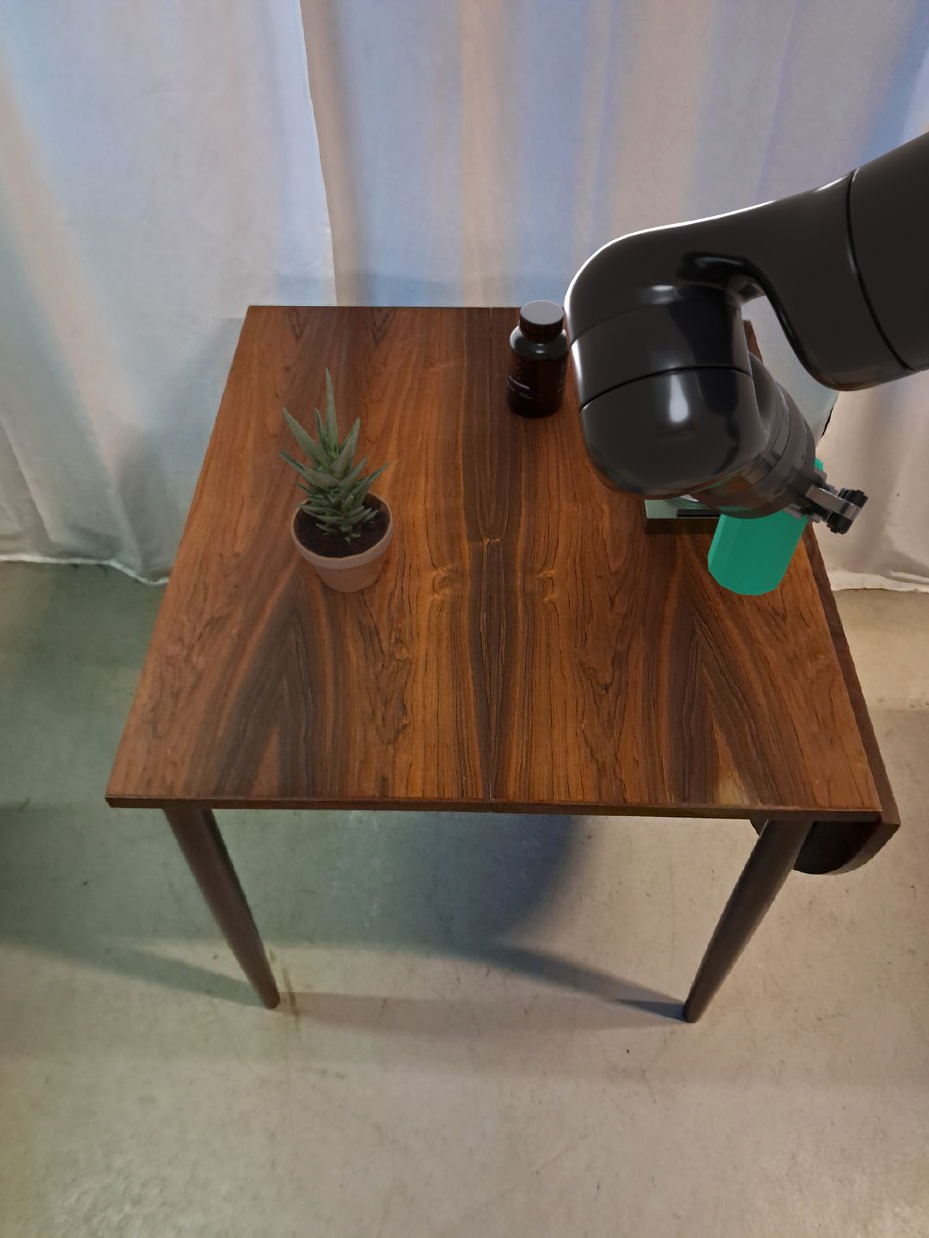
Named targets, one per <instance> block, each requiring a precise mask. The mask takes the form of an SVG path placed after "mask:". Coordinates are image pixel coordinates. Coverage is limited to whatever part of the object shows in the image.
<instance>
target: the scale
mask: <svg viewBox="0 0 929 1238" xmlns="http://www.w3.org/2000/svg"><path fill="white" fill-rule="evenodd" d="M638 503H639V510H640V517H641V523H642V529H643V534H644V535H715V532H716V529H717V526H718V523H719V519H720V516H721V513H719V512H717V511H715V510H713V509H712V508H710V507H708V506H706V505H705V504H703V503H701V502H699V501H697V500H696V499H694V498H692V497H691V496H689V495H684V496H680V497H675V498H669V499H661V500H639V499H638Z"/></svg>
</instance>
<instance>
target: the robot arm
mask: <svg viewBox="0 0 929 1238" xmlns="http://www.w3.org/2000/svg"><path fill="white" fill-rule="evenodd" d="M761 297H766V299H767V301H768V303H769V304H770V307H771V309H772V310H773V313H774V315H775V318H776V319H777V321H778V323H779V325H780V327H781V330H782V332H783V334H784V336H785V340H786V341H787V342H788V345H789V346H790V348H791V350H792V352H793V354H794V355H795V357H796V358H797V360H798V362H799V363H800V365H801V366H802V367H803V369H804V370H805V371H806V372H807V374H808V375H809V376H810V377H811V378H812V379H814V380H815V381H816V382H817V383H818V384H820V385H822V386H823V387H824V388H827V389H830V390H833V391H837V392H845V393H847V392H848V393H849V392H859V391H863V390H864V391H865V390H869V389H873V388H876V387H879V386H883V385H887V384H889V383H893V382H896V381H898V380H901V379H902V380H903V379H904V378H907V377H910V376H913V375H915V374H918V373H921V372H926V371H929V131H927V132H925V133H923V134H921V135H919V136H917V137H915V138H913V139H911V140H909V141H907V142H904V143H903V144H902V145H899V146H897V147H896V148H893V149H891V150H890V151H887V152H885V153H884V154H882V155H880V156H878V157H876V158H874V159H871V160H870V161H868V162H867V163H865V164H863V165H861V166H859V167H858V168H854V169H853V170H851V171H848V172H847V173H845V174H843V175H841V176H839V177H837V178H836V179H833V180H831V181H829V182H828V183H825V184H822V185H820V186H817V187H814V188H812V189H808V190H805V191H802V192H799V193H796V194H793V195H790V196H786V197H783V198H779V199H775V200H771V201H768V202H764V203H760V204H757V205H754V206H750V207H746V208H742V209H738V210H735V211H731V212H726V213H723V214H719V215H714V216H710V217H709V216H708V217H705V218H701V219H696V220H691V221H685V222H678V223H673V224H668V225H662V226H658V227H652V228H649V229H648V228H647V229H643V230H640V231H636V232H633V233H629V234H625V235H623V236H621V237H619V238H616V239H614V240H612V241H609V242H608V243H607V244H605V245H603V246H602V247H601V248H599V249H598V250H597V251H596V252H595V253H593V255H591V257H589V258H588V259H587V260H586V261H585V262H584V264H583V265H582V266H581V268H580V269H579V270H578V272H577V273H576V275H575V276H574V278H573V279H572V281H571V283H570V285H569V287H568V290H567V292H566V294H565V298H564V303H563V311H564V330H565V332H566V339H567V346H568V352H569V359H568V360H569V364H570V370H571V377H572V384H573V390H574V396H575V402H576V408H577V416H578V424H579V431H580V438H581V445H582V449H583V451H584V456H585V458H586V461H587V464H588V465H589V467H590V469H591V471H592V472H593V474H594V476H595V477H596V478H597V480H598V481H599V482H600V484H602V485H603V487H604V488H606V490H608V491H610V492H611V493H612V494H614V495H617V496H619V497H623V498H627V499H631V500H638V501H639V500H661V499H669V498H675V497H680V496H684V495H689V496H691V497H692V498H694V499H696V500H697V501H699V502H701V503H703V504H705V505H706V506H708V507H710V508H712V509H713V510H715V511H717V512H719V513H721V514H723V515H726V516H729V517H732V518H737V519H756V518H762V517H766V516H769V515H771V514H774V513H776V512H778V511H780V510H781V511H782V512H784V513H786V514H788V515H790V516H792V517H794V518H796V519H801V518H802V517H804V516H806V517H807V520H808V522H811V523H816V524H820V523H821V521H822V522H823V523H825V524H826V526H825V527H827V529H829V532H831V533H833V534H836V535H838V534H839V535H845V534H847V533H848V532H849V530H850V528H851V527H852V525H853V523H854V522H855V521H856V519H857V517H858V516H859V514H860V512H861V511H862V509H863V507H864V506H865V505H866V503H867V502H868V500H869V497H868V496H867V495H865V492H864V491H862V490H860V489H858V488H857V489H853V488H847V487H845V486H842V487H841V488H840V490H838V489H836V486H834V485H832V484H830V483H827V478H828V475H827V473H826V472H825V471H824V470H823V471H822V470H821V469H819V468H818V467H816V466H815V458H817V456H816V442H815V441H816V440H815V437H814V434H813V431H812V429H811V427H810V425H809V423H808V422H807V421H806V418H805V417H804V415H803V413H802V412H801V410H800V408H799V407H798V405H797V403H796V402H795V400H794V398H793V397H792V396H791V394H790V393H789V392H788V390H787V389H786V388H785V387H783V385H782V384H780V383H779V382H778V381H777V380H776V379H775V377H774V376H773V375H772V374H771V372H770V370H769V369H768V367H766V365H765V364H764V363H763V362H762V361H761V359H759V358H758V357H757V356H756V355H755V354H753V353H752V352H751V351H749V348H748V342H747V337H746V333H745V327H744V320H743V312H742V307H743V306H745V305H746V304H748V303H749V302H752V301H753V300H756V299H759V298H761Z"/></svg>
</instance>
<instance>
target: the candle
mask: <svg viewBox="0 0 929 1238" xmlns="http://www.w3.org/2000/svg"><path fill="white" fill-rule="evenodd" d="M815 466H816V467H818V468H819V469H821V470H822V471H824V463H823V462H822V461H821V460H819V458H818V457H816V458H815ZM808 522H809V520H807V517H806V516H804V517H802V518H801V519H796V518H794V517H792V516H790V515H788V514H786V513H784V512H782V511H781V510H780V511H778V512H776V513H774V514H771V515H769V516H766V517H762V518H756V519H737V518H732V517H729V516H726V515H723V514H721V516H720V519H719V523H718V526H717V529H716V532H715V534H713V539H712V542H711V545H710V549H709V551H708V554H707V564H708V565H707V566H708V572H709V573H710V574H711V575H712V577H713V579H714V580H715V581H716V582H717V584H719V586H722V587H723V588H725V589H728V590H730V591H731V592H734V593H735V594H738V595H748V596H761V595H763V594H766V593H770V592H771V591H772V592H773V591H775V590H776V589H777V587H778V586H779V584H780V583H781V582H782V580H783V579H784V577H785V575H786V573H787V570H788V567H789V565H790V563H791V561H792V559H793V556H794V553H795V552H796V549H797V547H798V545H799V542H800V540H801V537H802V535H803V533H804V531H805V528H806V527H807V523H808Z"/></svg>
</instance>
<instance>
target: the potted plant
mask: <svg viewBox="0 0 929 1238" xmlns="http://www.w3.org/2000/svg"><path fill="white" fill-rule="evenodd" d="M325 381H326V382H325V383H326V411H325V426H324V423H323V421H322V418H321V415H320V412H319V410H318V409H317V408H316V407H313V409H314V418H315V419H314V420H315V425H316V431H317V439H318V444H317V443H316V442H315V440H314V439H313V438H312V437H311V436H310V435H309V434H308V433H307V431H305V429H304V428H303V427H302V426H301V425H300V424H299V423H298V421H297V420H296V419H295V418H294V417H293V416H292V415H291V414H290V412H289V411H288V410H287V409H286V408H285V407H283V406H282V407H281V408H282V413H283V416H284V418H285V421H286V422H287V425H288V427H289V429H290V431H291V433H292V435H293V437H294V438H295V439H296V441H297V443H298V445H299V446H300V447H301V449H302V450H303V452H304V454H305V455H306V456H307V458H308V459H309V461H310V462H311V465H312V466H313V467H311V466H310V465H307V464H305V463H303V462H300V461H298V460H297V459H295V458H293V457H292V456H291V455H290V454H289V453H288V451H287V450H286V449H285V448H284V447H283V446H281V447H280V449H281V450H282V451H280V450H279V449H278V450H277V454H278V455H279V456H280V458H282V459H283V460H284V462H286V464H288V465H289V466H290V468H292V469H293V470H295V472H297V473H298V474H299V475H300V477H301V478H302V479H303V480H304V481H305V482H306V484H308V486H309V487H310V488H309V487H307V486H306V485H303V484H302V483H299V482H297V481H296V480H293V481H292V482H293V484H294V485H295V486H296V487H298V489H300V490H301V491H302V492H303V493H304V494H305V495H307V497H306V498H304V499H303V500H301V502H300V503H297V502H295V503H294V504H293V506H296V508H295V509H294V511H293V513H292V516H291V519H290V522H289V523H290V533H291V536H292V540H293V543H294V546H295V548H296V550H297V552H298V553H299V554H300V556H301V557H302V558H304V559H305V561H307V562H309V563H310V564H311V566H312V567H313V569H314V570H315V572H316V574H318V576H319V577H320V579H321V581H322V582H323V583H324V585H326V586H327V587H328V588H329V589H331V590H333V591H336V592H339V593H356V592H359V591H363V590H365V589H367V588H368V589H369V588H370V587H371V586H372V585H373V584H375V583H376V581H377V580H378V578H379V576H380V574H381V572H382V570H383V558H384V554H385V551H386V550H387V549H388V546H389V545H390V544H391V542H392V538H393V535H394V530H395V529H394V528H395V526H394V520H393V514H392V513H393V512H392V510H391V508H390V506H389V504H388V502H387V501H386V500H385V499H384V498H383V497H382V496H381V495H380V494H379V493H377V492H375V491H373V490H371V489H370V488H371V486H372V485H373V483H374V482H375V481H376V479H377V478H379V476H381V474H382V473H383V472H384V471H385V470H386V469H387V468H388V466H389V465H390V463H391V460H389V461H386V463H385V464H384V465H383V466H382V467H380V468H378V469H377V470H376V469H375V470H374V471H373V472H372V473H371V474H370V473H369V474H367V475H365V476H363V477H362V478H360V476H361V474H362V472H363V470H364V468H365V467H366V465H367V461H368V455H365V456H364V457H363V458H362V459H361V461H359V463H358V464H356V465H355V466H354V467H353V465H354V460H355V456H356V450H357V446H358V438H359V433H360V427H361V426H360V425H361V424H360V423H361V422H360V421H361V419H360V417H359V416H358V417H357V418H356V419H355V421H354V423H353V425H352V427H351V430H350V432H349V434H347V437H346V438H345V440H343V442H342V443H341V444H340V443H339V435H338V425H337V423H338V422H337V415H336V405H335V404H336V403H335V402H336V401H335V397H334V396H335V395H334V389H333V384H332V379H331V374H330V371H329V369H328V367H327V366H326V367H325ZM359 478H360V479H359Z"/></svg>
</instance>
